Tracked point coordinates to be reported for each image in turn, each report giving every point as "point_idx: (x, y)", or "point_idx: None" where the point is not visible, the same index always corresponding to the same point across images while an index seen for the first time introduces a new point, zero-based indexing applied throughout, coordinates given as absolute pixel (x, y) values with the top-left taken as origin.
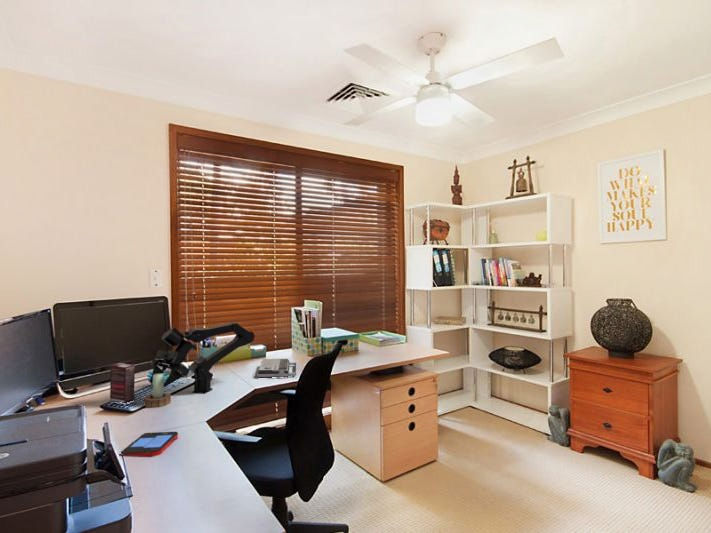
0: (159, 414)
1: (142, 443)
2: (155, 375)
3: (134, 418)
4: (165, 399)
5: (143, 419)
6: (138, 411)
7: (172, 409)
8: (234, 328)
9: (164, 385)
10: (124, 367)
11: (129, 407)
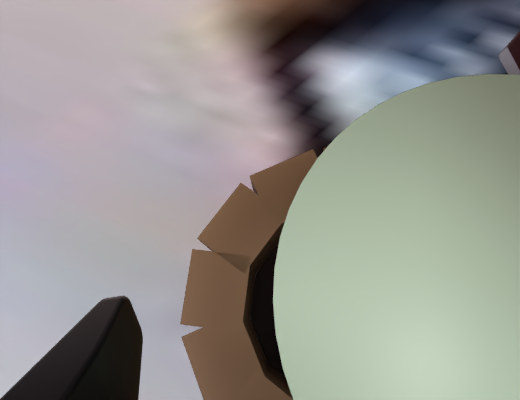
0: (25, 172)
1: None
2: (473, 151)
3: (119, 6)
4: (189, 335)
5: (39, 41)
6: (251, 83)
7: (33, 320)
8: None
9: (98, 316)
10: None
11: (423, 71)
